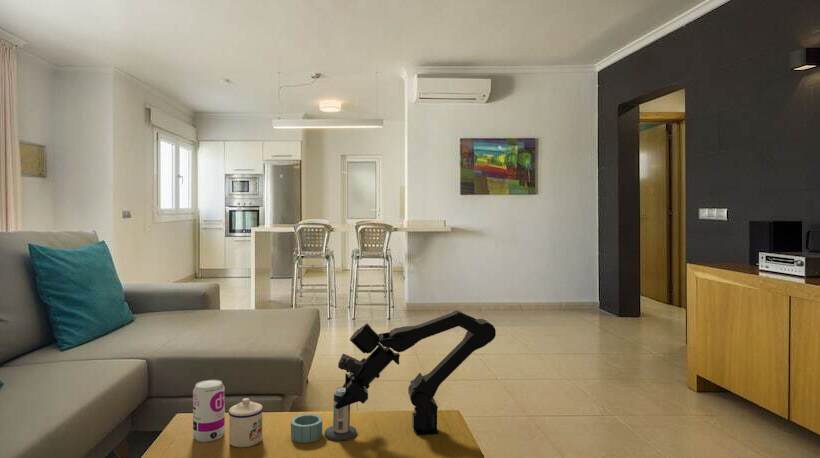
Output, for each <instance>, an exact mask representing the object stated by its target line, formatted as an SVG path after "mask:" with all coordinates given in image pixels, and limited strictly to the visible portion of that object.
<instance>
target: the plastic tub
mask: <svg viewBox="0 0 820 458" xmlns="http://www.w3.org/2000/svg"><path fill="white" fill-rule="evenodd" d="M322 437H323V417H322V416H321V415H318V414H313V413H307V414H306V413H305V414H300V415H296V416H294V417H293V418H291V419H290V439H291V440H292V441H293V442H295V443H299V444H308V443H315V442H317V441H319V440H320V439H321V438H322Z"/></svg>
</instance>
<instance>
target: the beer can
mask: <svg viewBox="0 0 820 458" xmlns="http://www.w3.org/2000/svg"><path fill="white" fill-rule="evenodd" d="M345 391H346V387H343V386H340V387H336V388H335V389H334V391H333V414H332V415H333V419H332V420H333V421H332V422H333V423H332V424H333V425H332V426H333V431H334V432H336V433H338V434H343V433H346V432H348V431H349V430H350V426H351V423H350V421H351V404H350V405H347V406H345V407H342V408H340V409H336V408H335V405H336V404H337V402H338V401H339V399H340V398H341V397H342V395H343V394H344V392H345Z"/></svg>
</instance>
